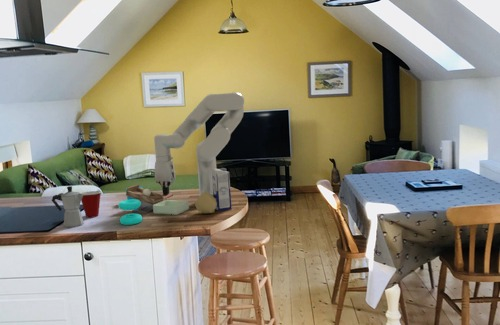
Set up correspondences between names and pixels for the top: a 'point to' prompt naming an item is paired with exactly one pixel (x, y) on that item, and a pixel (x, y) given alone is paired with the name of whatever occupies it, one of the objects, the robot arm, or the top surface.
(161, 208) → the tray
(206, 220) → the top surface
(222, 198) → the milk carton
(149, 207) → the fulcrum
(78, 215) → the coffee maker
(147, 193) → the ball
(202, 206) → the yellow rounded lump
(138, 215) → the donuts
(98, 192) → the plastic cup
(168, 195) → the chute
